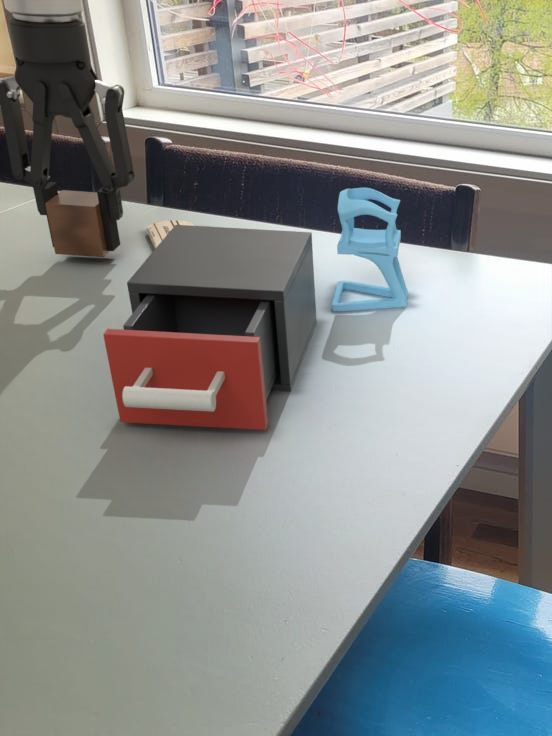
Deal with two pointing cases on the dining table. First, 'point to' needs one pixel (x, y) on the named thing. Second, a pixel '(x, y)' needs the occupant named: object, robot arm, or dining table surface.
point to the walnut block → (76, 224)
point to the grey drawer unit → (240, 279)
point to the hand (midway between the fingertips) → (86, 245)
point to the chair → (370, 249)
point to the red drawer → (195, 361)
